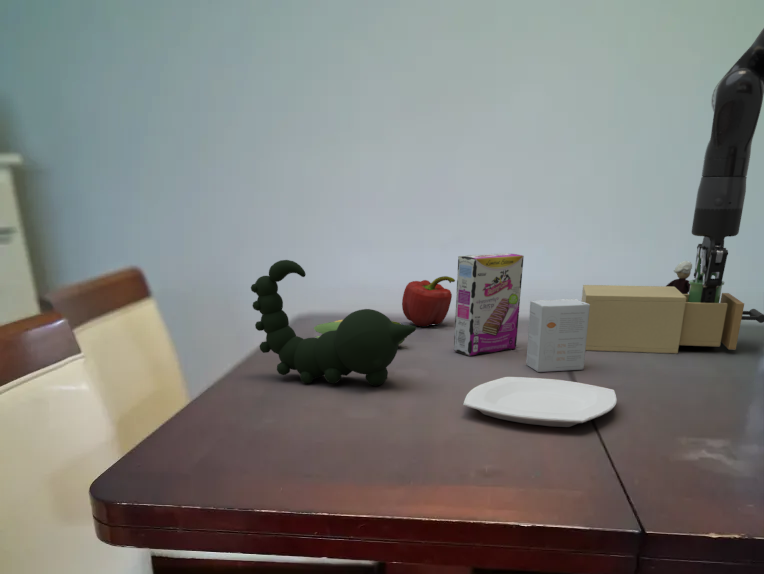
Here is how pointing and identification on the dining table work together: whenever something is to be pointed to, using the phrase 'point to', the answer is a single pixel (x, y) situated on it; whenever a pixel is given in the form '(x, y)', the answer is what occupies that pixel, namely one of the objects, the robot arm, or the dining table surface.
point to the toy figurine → (326, 337)
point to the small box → (557, 335)
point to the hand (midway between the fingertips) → (702, 307)
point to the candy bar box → (487, 302)
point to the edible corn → (335, 327)
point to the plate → (541, 401)
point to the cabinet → (634, 318)
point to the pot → (700, 291)
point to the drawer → (715, 322)
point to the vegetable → (426, 301)
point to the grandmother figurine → (682, 277)
